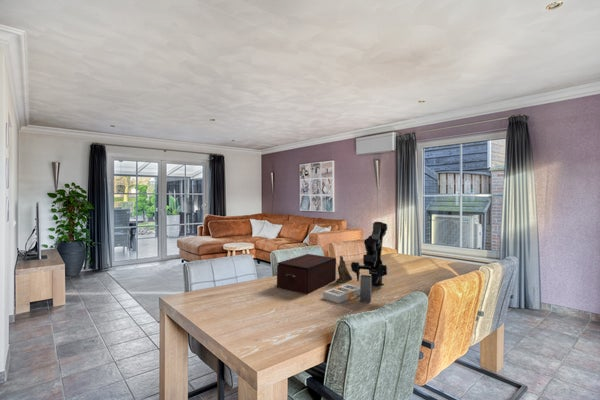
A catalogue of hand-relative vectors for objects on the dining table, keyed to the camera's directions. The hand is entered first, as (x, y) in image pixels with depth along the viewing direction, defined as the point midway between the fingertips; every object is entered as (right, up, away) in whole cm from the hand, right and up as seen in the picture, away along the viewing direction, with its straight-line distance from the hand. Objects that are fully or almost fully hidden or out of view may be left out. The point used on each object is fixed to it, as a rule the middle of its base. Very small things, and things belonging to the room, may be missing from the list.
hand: (366, 282), depth 168 cm
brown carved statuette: (-6, -9, +37) cm, 39 cm away
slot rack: (-11, -9, +6) cm, 16 cm away
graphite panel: (-1, -9, -2) cm, 10 cm away
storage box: (-31, -9, +29) cm, 43 cm away
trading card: (-19, -10, -20) cm, 29 cm away
